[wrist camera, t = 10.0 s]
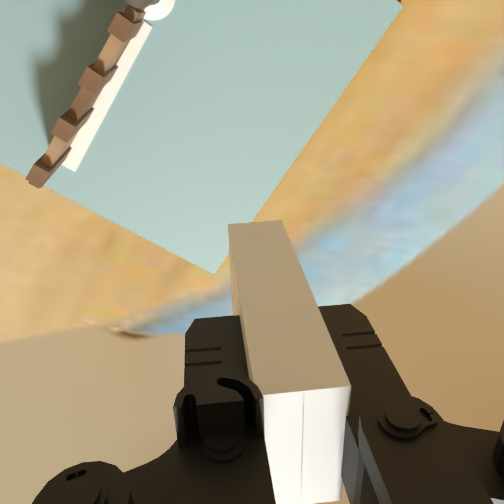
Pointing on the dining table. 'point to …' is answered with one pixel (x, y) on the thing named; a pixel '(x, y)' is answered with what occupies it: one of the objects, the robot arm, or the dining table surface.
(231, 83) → the board
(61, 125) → the fence panel
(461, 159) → the dining table surface
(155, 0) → the fence fixed
